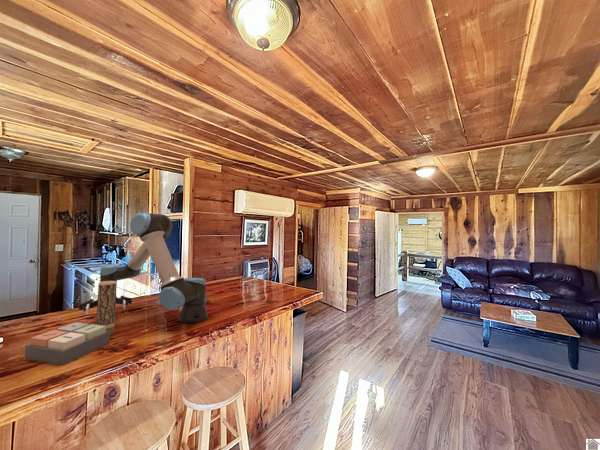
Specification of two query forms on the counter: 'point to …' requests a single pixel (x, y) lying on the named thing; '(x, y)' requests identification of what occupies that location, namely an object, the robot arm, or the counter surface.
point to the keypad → (65, 351)
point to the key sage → (91, 331)
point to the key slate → (73, 327)
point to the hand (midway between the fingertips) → (106, 308)
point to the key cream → (66, 341)
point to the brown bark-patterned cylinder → (106, 305)
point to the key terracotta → (45, 338)
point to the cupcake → (206, 296)
